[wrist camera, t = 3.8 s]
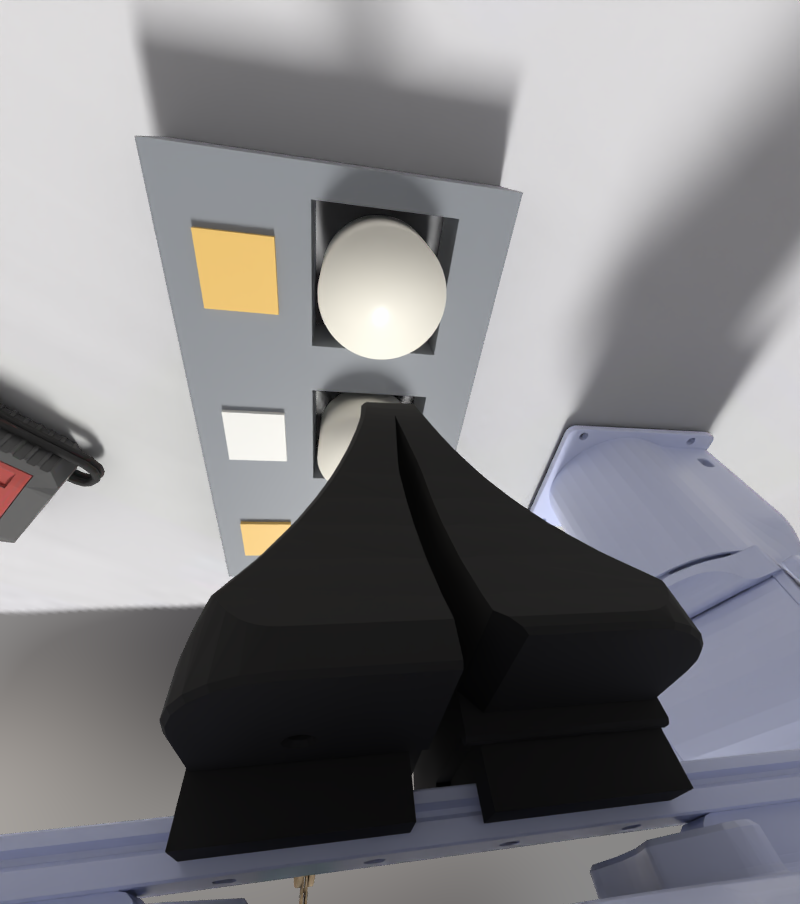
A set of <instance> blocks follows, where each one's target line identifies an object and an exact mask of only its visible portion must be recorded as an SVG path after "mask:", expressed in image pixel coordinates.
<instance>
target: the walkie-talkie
mask: <svg viewBox="0 0 800 904" xmlns="http://www.w3.org/2000/svg"><path fill="white" fill-rule="evenodd" d="M67 439H68V438H66V437H61V436H60V435H58V434H56V432H55V431H53V430H51V431H50V430H48V429H46V428H44V426H43V425H41V424H36V423H34V422H33V421H31V419H30V418H28V417H27V418H25V417H23V416H21V415H19V414H18V412H16V411H11V410H9V409H7V408H6V407H5V405H3V404H0V541H3V542H11V543H15V541H16V540H17V539H18V538H19V537H20V535H21V534H22V533H23V532H24V531H25V529H26V528H27V527H28V526H29V525H30V523H31V522H32V521H33V520H34V519H35V517H36V516H37V515H38V514H39V513H40V512H41V510H42V509H43V508H44V507H45V505H46V504H47V503H48V502H49V501H50V499H51V498H52V497H53V496H54V494H55V493H56V492H57V491H58V490H59V488H60V487H61V486H62V485H63V484H64V482H66V481H69V482H71V483H74V484H76V485H80V486H92V485H94V484H96V483H98V482H99V481H100V478H101V477H103V475H104V472H105V471H104V469H103V466H102V465H101V464H100V463H98V462H97V461H96V460H95V459H93V458H92V457H91V456H89V455H87V454H85V453H83V452H82V451H81V449H80V447H79V446H78V444H77V443H73V442H71V441H69V440H67ZM77 466H80V467H82V468H83V469H84V470H86V471H87V472H88V473H90V474H87V473H83V472H81V471H79V470H76V469H77Z"/></svg>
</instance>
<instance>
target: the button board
mask: <svg viewBox="0 0 800 904" xmlns="http://www.w3.org/2000/svg"><path fill="white" fill-rule="evenodd" d="M135 141H136V145H137V150H138V155H139V159H140V164H141V169H142V173H143V178H144V183H145V187H146V192H147V197H148V201H149V206H150V211H151V215H152V220H153V225H154V229H155V234H156V239H157V243H158V248H159V252H160V257H161V262H162V266H163V271H164V276H165V280H166V285H167V290H168V294H169V299H170V304H171V308H172V313H173V318H174V322H175V327H176V332H177V336H178V341H179V346H180V350H181V355H182V360H183V364H184V369H185V374H186V378H187V383H188V387H189V392H190V397H191V401H192V406H193V411H194V415H195V420H196V425H197V429H198V434H199V439H200V443H201V448H202V453H203V457H204V462H205V467H206V471H207V476H208V481H209V485H210V490H211V495H212V499H213V504H214V508H215V513H216V518H217V522H218V527H219V532H220V536H221V541H222V546H223V550H224V555H225V560H226V564H227V569H228V574H229V576H236V575H237V574H239V573H240V572H241V571H242V570H244V569H245V568H246V567H247V566H248V565H250V564H251V563H252V562H253V561H255V560H256V559H257V558H258V557H259V556H260V555H261V554H262V553H264V552H265V551H266V550H267V549H268V548H269V547H270V546H271V545H272V544H273V543H274V542H275V541H276V540H277V539H278V538H279V537H280V536H281V535H282V534H283V533H284V532H285V531H286V530H287V529H288V528H289V527H290V526H291V525H292V524H293V523H294V522H295V521H296V520H297V519H298V518H299V517H300V515H301V514H302V513H303V512H304V511H305V510H306V508H307V507H308V506H309V505H310V504H311V502H312V501H313V500H314V499H315V498H316V496H317V495H318V494H319V492H320V491H321V490H322V488H323V487H324V486H325V484H326V483H327V480H326V479H325V478H324V476H323V475H322V473H321V471H320V469H319V466H318V460H317V456H318V449H317V448H316V391H333V392H350V393H367V394H384V395H401V396H414V402H413V404H414V405H415V406H416V407H417V408H418V409H419V411H420V412H421V413H422V414H423V415H424V416H425V418H426V419H427V420H428V421H429V422H430V423H431V425H432V426H433V427H434V428H435V429H436V430H437V431H438V433H439V434H440V435H441V436H442V437H443V438H444V439H445V440H446V441H447V442H448V443H449V444H450V445H451V447H452V448H453V449H454V450H455V451H456V448H457V444H458V440H459V436H460V432H461V428H462V425H463V421H464V417H465V413H466V409H467V405H468V402H469V398H470V394H471V390H472V386H473V382H474V378H475V375H476V371H477V367H478V363H479V359H480V355H481V352H482V348H483V344H484V340H485V336H486V332H487V328H488V325H489V321H490V317H491V313H492V309H493V305H494V302H495V298H496V294H497V290H498V286H499V282H500V278H501V275H502V271H503V267H504V263H505V259H506V255H507V251H508V248H509V244H510V240H511V236H512V232H513V228H514V225H515V221H516V217H517V213H518V209H519V205H520V201H521V198H522V194H523V193H522V192H519V191H515V190H511V189H508V188H504V187H501V186H494V185H487V184H481V183H474V182H467V181H460V180H454V179H447V178H440V177H433V176H427V175H420V174H413V173H406V172H400V171H393V170H386V169H379V168H373V167H366V166H359V165H352V164H346V163H339V162H332V161H325V160H319V159H312V158H305V157H298V156H292V155H285V154H278V153H271V152H265V151H258V150H251V149H244V148H238V147H231V146H224V145H217V144H211V143H204V142H197V141H190V140H184V139H177V138H170V137H157V136H135ZM316 200H320V201H327V202H335V203H343V204H350V205H358V206H365V207H373V208H380V209H388V210H395V211H403V212H411V213H418V214H426V215H433V216H441V217H444V221H443V227H442V233H441V239H440V245H439V251H438V257H437V259H438V261H439V263H440V265H441V267H442V270H443V273H444V277H445V281H446V305H445V309H444V313H443V316H442V318H441V321H440V323H439V325H438V327H437V329H436V330H435V331H434V333H433V334H432V336H431V337H430V338H429V339H428V340H427V341H426V342H425V343H424V344H423V345H421V346H420V347H419V348H417V349H416V350H414V351H412V352H411V353H409V354H406V355H404V356H401V357H397V358H393V359H370V358H366V357H362V356H360V355H357V354H355V353H353V352H351V351H349V350H348V349H346V348H345V347H344V346H342V345H341V344H340V343H339V342H338V341H337V340H336V339H335V338H334V337H333V336H332V334H331V333H330V332H329V330H328V329H327V327H326V325H325V324H316Z"/></svg>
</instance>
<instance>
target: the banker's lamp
mask: <svg viewBox="0 0 800 904" xmlns="http://www.w3.org/2000/svg"><path fill="white" fill-rule="evenodd" d="M304 877H305V886H304ZM314 879H315V875H308V876H301V877H294V887H295V888H300V895H299V898H300V901H299V904H302V903H304V904H307V896H308V892H307V887H311V886H313V883H314ZM303 886H304V888H303ZM303 893H304V895H303ZM303 897H304V902H303Z"/></svg>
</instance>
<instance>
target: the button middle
mask: <svg viewBox="0 0 800 904" xmlns="http://www.w3.org/2000/svg"><path fill="white" fill-rule="evenodd" d="M365 402H380V403H401V402H400V401H399V400H398V399H397V398H396V397H394V396H393V395H384V394H367V393H350V392H344V393H342V394H340V395H338V396H337V397H335V398H334V399H333V400H332V401H331V402H330V403H329V404H328V405H327V407H326V408H325V410H324V412H323V414H322V418H321V425H320V435H319V446H318V456H317V460H318V466H319V469H320V471H321V473H322V475H323V476H324V478H325V479H326V480H327V481H328V480H329V479H330V477H331V476H332V474H333V472H334V471H335V469H336V468H337V466H338V464H339V463H340V461H341V459H342V457H343V456H344V454H345V452H346V450H347V448H348V446H349V444H350V442H351V440H352V437H353V435H354V433H355V431H356V428H357V425H358V422H359V419H360V415H361V405H363V404H364V403H365Z"/></svg>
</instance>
